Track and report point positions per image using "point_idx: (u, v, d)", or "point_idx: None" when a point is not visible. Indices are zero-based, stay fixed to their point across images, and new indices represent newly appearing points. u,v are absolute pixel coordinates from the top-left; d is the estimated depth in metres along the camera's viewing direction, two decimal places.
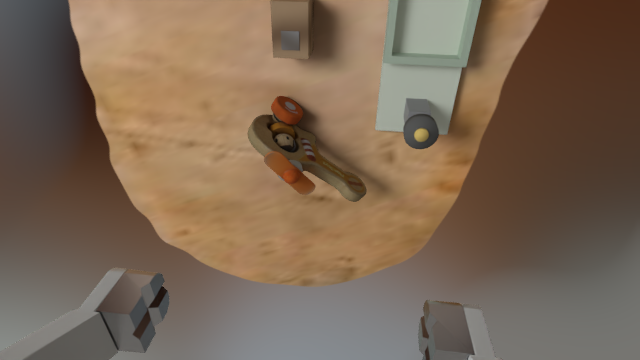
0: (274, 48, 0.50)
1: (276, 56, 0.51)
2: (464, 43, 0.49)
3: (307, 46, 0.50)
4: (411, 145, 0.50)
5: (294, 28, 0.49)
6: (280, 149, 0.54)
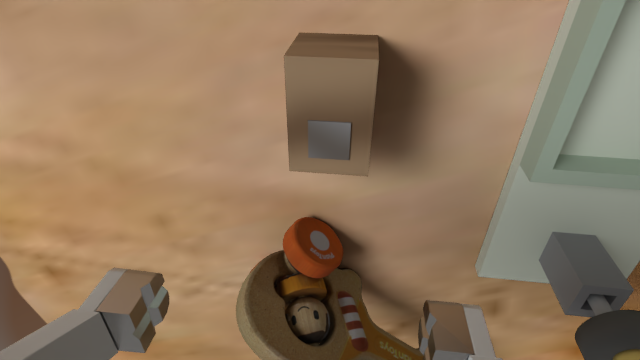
0: (292, 154, 0.22)
1: (296, 169, 0.23)
2: None
3: (368, 152, 0.22)
4: None
5: (339, 116, 0.21)
6: (302, 348, 0.26)
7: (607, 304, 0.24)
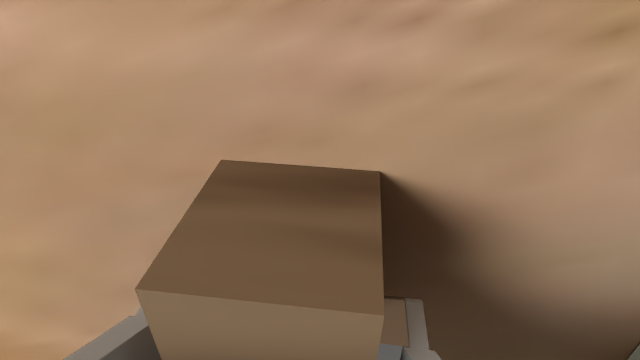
0: None
1: None
2: None
3: None
4: None
5: None
6: None
7: None
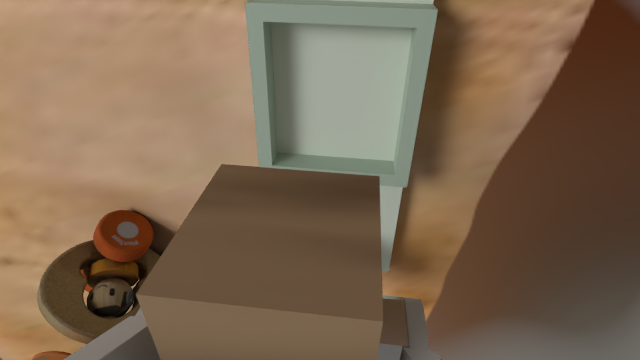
0: None
1: None
2: (400, 150, 0.26)
3: None
4: None
5: None
6: (91, 318, 0.31)
7: None
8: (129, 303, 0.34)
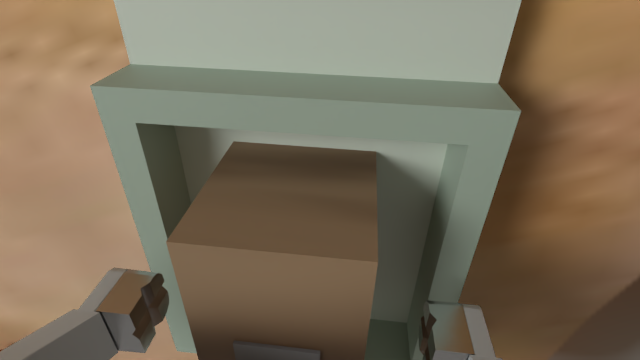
0: None
1: None
2: None
3: None
4: None
5: (295, 341, 0.10)
6: None
7: None
8: None
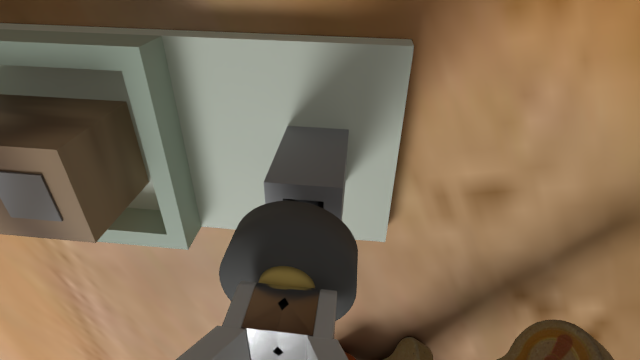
0: (69, 236, 0.17)
1: (89, 235, 0.17)
2: (74, 65, 0.16)
3: (19, 149, 0.15)
4: (340, 311, 0.12)
5: None
6: None
7: None
8: None
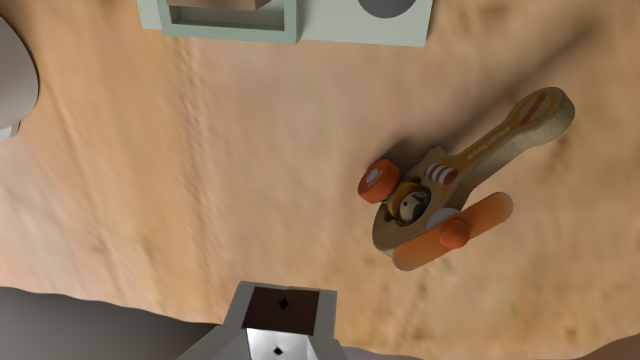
0: (239, 6, 0.28)
1: (253, 4, 0.28)
2: None
3: None
4: (412, 0, 0.25)
5: None
6: (413, 225, 0.34)
7: None
8: (425, 196, 0.35)
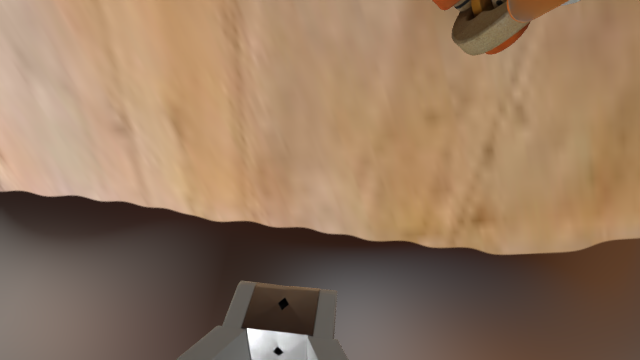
0: None
1: None
2: None
3: None
4: None
5: None
6: None
7: None
8: None
